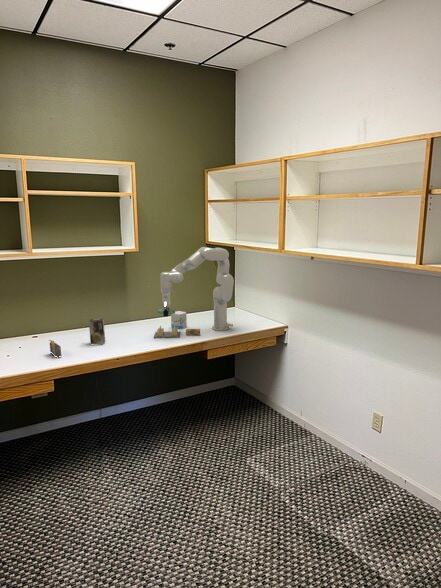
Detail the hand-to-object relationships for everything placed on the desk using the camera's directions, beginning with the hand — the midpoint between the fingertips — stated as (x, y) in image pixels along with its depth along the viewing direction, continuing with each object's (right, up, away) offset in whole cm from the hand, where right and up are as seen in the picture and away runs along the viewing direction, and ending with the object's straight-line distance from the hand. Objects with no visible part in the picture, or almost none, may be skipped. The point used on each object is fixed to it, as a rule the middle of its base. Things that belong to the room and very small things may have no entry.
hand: (166, 314), depth 296 cm
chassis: (0, -15, +3) cm, 15 cm away
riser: (+18, -14, +4) cm, 24 cm away
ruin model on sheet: (-63, -24, -36) cm, 76 cm away
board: (0, +1, 0) cm, 1 cm away
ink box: (+7, -11, +23) cm, 26 cm away
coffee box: (-44, -19, -13) cm, 49 cm away
